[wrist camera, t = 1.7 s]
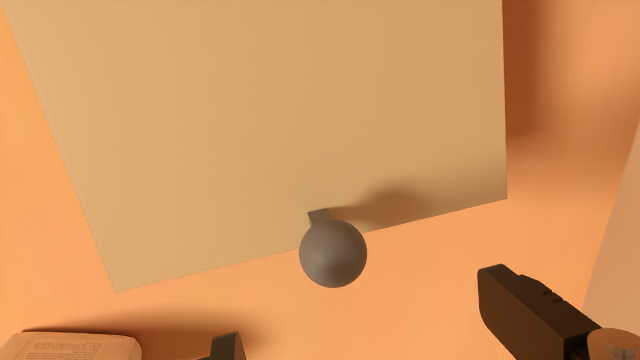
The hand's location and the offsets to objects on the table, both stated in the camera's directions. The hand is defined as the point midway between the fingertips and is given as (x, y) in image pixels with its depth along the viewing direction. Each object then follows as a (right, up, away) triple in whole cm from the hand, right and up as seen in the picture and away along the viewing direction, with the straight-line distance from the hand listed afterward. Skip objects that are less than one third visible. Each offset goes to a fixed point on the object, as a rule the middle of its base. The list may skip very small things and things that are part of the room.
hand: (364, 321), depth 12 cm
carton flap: (-3, +9, +7) cm, 12 cm away
